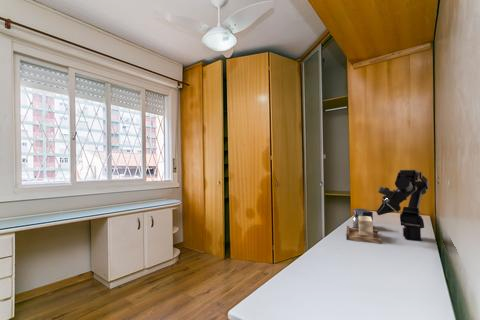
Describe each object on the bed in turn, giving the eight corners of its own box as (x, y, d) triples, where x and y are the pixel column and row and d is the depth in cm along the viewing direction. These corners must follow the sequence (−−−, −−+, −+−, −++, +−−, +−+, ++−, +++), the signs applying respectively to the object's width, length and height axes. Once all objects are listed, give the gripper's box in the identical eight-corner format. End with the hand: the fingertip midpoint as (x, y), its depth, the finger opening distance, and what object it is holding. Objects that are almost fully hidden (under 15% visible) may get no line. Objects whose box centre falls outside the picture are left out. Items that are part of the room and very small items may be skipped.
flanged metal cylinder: (361, 227, 136) (360, 212, 136) (361, 231, 129) (361, 215, 129) (351, 226, 138) (351, 212, 138) (351, 230, 131) (351, 214, 131)
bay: (377, 233, 124) (377, 228, 124) (381, 243, 109) (380, 237, 109) (347, 230, 130) (346, 225, 130) (346, 239, 116) (346, 233, 116)
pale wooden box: (371, 233, 123) (371, 216, 123) (373, 239, 113) (372, 221, 113) (358, 232, 125) (358, 215, 125) (359, 238, 115) (358, 220, 116)
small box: (374, 229, 131) (373, 211, 131) (362, 230, 131) (362, 212, 131) (363, 225, 142) (363, 208, 142) (353, 225, 142) (352, 208, 142)
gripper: (385, 179, 123) (363, 199, 128) (391, 182, 106) (365, 205, 111) (404, 195, 119) (380, 214, 124) (412, 200, 103) (384, 222, 107)
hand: (377, 213), depth 117 cm, fingers open, 5 cm apart
